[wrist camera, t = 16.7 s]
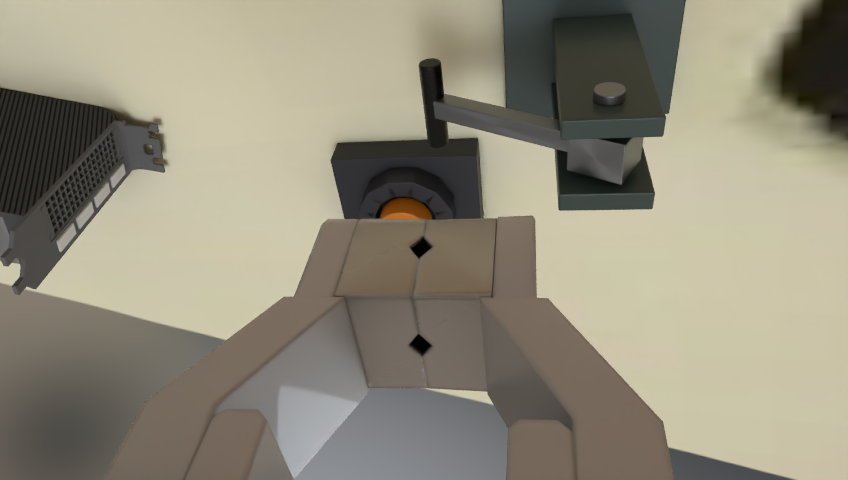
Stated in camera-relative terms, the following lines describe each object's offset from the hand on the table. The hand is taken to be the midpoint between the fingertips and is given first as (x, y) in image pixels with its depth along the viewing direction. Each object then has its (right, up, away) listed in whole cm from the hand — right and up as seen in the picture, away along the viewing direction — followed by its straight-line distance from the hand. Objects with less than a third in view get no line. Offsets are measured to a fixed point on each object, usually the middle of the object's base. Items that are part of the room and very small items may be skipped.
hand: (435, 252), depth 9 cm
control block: (-1, +4, +38) cm, 38 cm away
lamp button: (-1, +2, +35) cm, 35 cm away
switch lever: (+6, +7, +24) cm, 26 cm away
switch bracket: (+10, +12, +30) cm, 33 cm away
